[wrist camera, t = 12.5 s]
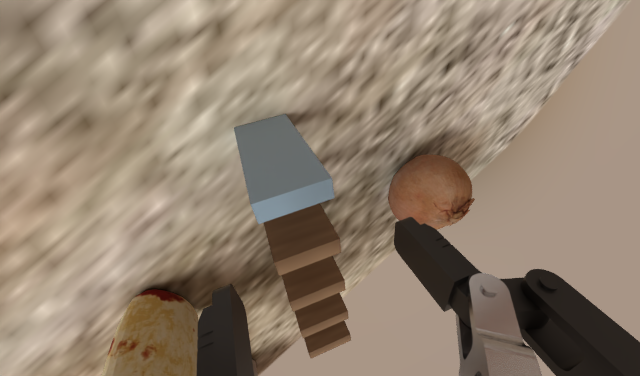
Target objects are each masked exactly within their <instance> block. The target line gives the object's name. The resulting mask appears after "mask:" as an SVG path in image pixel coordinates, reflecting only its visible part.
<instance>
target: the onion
mask: <svg viewBox="0 0 640 376" xmlns="http://www.w3.org/2000/svg"><path fill="white" fill-rule="evenodd" d="M471 197H472V185H471V181H470V178H469V176H468V175H467V173H466V172H465V171H464V169H463V168H462V167H461V166H460V165H459V164H458V163H456V162H455V161H453V160H451V159H449V158H447V157H444V156H440V155H420V156H417V157H415V158H414V159H412V160H411V161H409V162H407V163H406V164H405V165H404V166H403V167H401V168H400V170H399V171H398V172H397V173H396V174H395V175H394V177H393V179H392V182H391V185H390V188H389V197H388V200H389V204H390V207H391V210H392V212H393V214H394V215H395V216H396V218H397V219H398V220H399V221H400V220H403V219H405V218H408V217H413V218H414V219H415V220H416V221H417V222H418V223H419V224H420V225H421V224H424V223H425V224H427V225H429V226H431V227H433V228H435V229H436V230H437V229H440V228H443V227H444V226H448V225H452V224H454V223H456V222H458V221H459V220H461V219H462V218H463V217H464V216H465V215H466V214H467V213H468V211H469V210H468V209H469V206H470V205H471V204H472V203H473V201H474V200H475V199H474V198H473V199H471Z"/></svg>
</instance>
